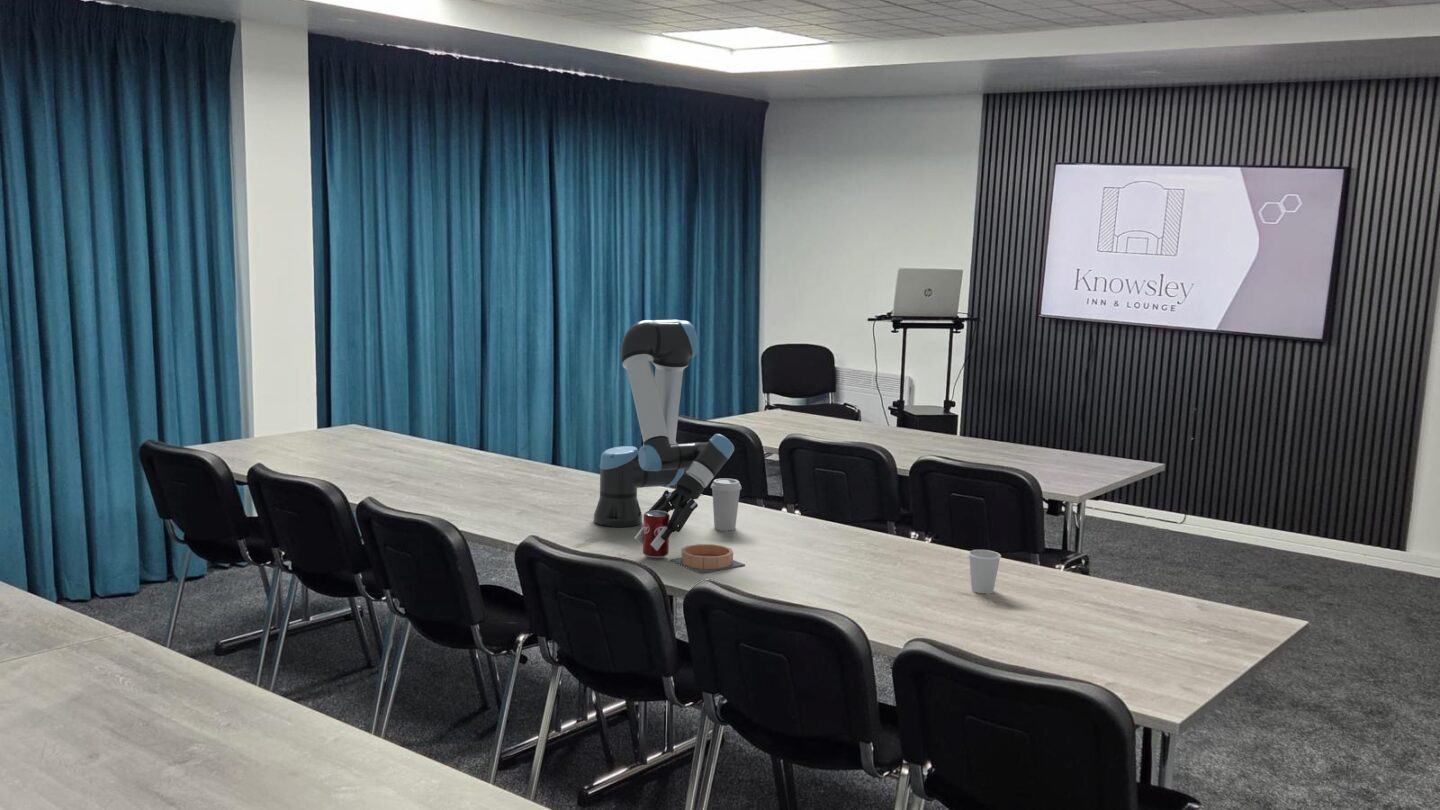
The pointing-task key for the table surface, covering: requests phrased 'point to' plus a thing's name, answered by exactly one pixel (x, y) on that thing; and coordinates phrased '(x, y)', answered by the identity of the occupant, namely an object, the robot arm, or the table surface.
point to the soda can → (655, 533)
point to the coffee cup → (725, 503)
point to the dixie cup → (983, 570)
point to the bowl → (707, 558)
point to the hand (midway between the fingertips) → (645, 544)
